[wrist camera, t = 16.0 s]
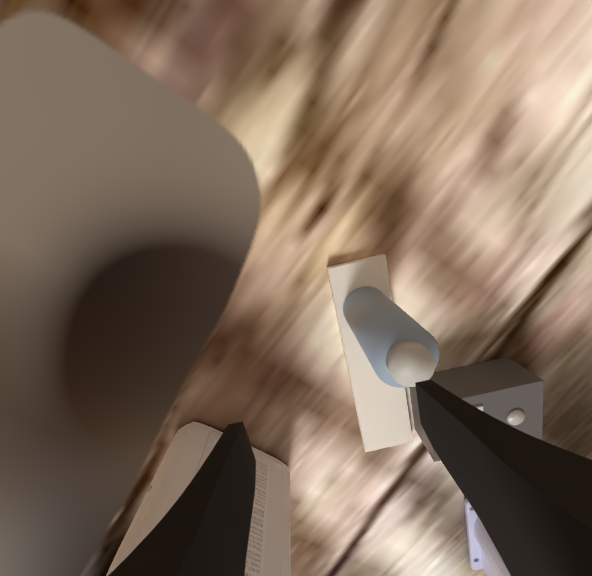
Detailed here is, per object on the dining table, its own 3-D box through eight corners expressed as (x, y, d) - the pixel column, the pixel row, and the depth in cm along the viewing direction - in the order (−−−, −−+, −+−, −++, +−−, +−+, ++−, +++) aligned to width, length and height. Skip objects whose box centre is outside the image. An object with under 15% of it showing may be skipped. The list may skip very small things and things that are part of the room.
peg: (390, 323, 21) (451, 389, 13) (347, 333, 21) (384, 405, 13) (384, 281, 20) (445, 327, 12) (338, 292, 20) (373, 344, 12)
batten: (409, 436, 24) (412, 441, 24) (363, 446, 24) (365, 452, 24) (382, 253, 20) (385, 255, 19) (326, 267, 20) (327, 268, 19)
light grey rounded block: (164, 448, 24) (44, 692, 12) (188, 410, 23) (83, 634, 11) (271, 495, 26) (260, 746, 14) (297, 462, 25) (309, 700, 13)
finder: (506, 406, 24) (544, 440, 21) (413, 426, 24) (435, 463, 21) (505, 354, 23) (545, 381, 19) (406, 376, 23) (429, 407, 20)
